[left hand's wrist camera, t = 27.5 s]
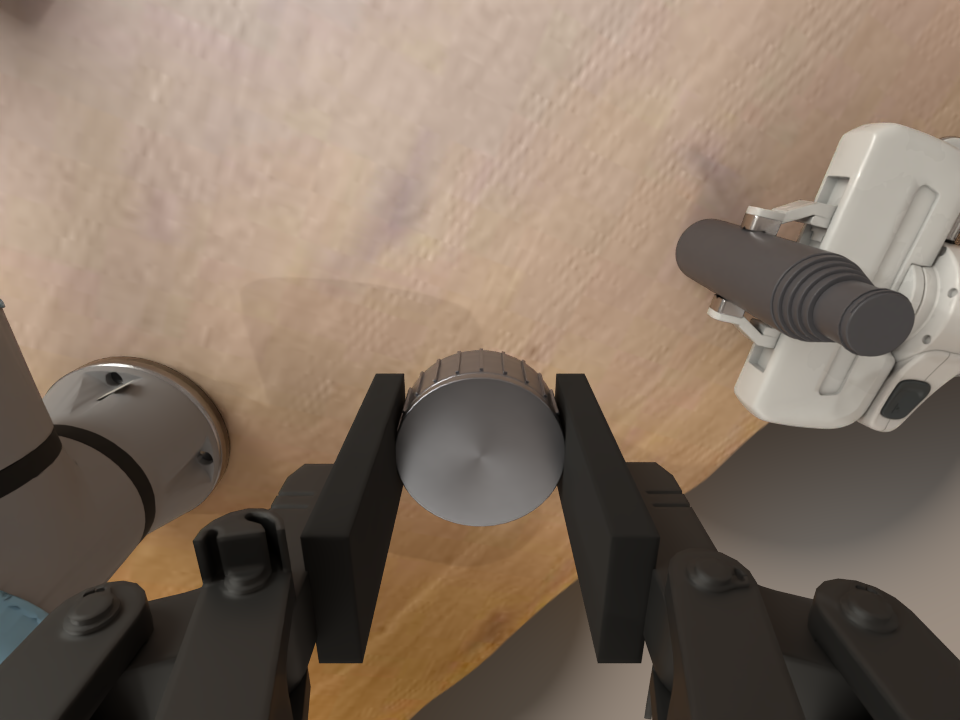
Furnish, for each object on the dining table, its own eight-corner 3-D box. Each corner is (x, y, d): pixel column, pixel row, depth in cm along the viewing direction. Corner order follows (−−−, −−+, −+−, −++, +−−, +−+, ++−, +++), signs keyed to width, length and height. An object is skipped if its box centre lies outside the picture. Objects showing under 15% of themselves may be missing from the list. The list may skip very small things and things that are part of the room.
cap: (546, 333, 14) (555, 360, 12) (568, 473, 15) (579, 514, 14) (385, 363, 14) (372, 393, 12) (422, 496, 16) (415, 540, 14)
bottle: (749, 239, 41) (961, 308, 23) (710, 290, 43) (879, 393, 25) (701, 206, 41) (882, 251, 22) (662, 260, 42) (803, 343, 24)
